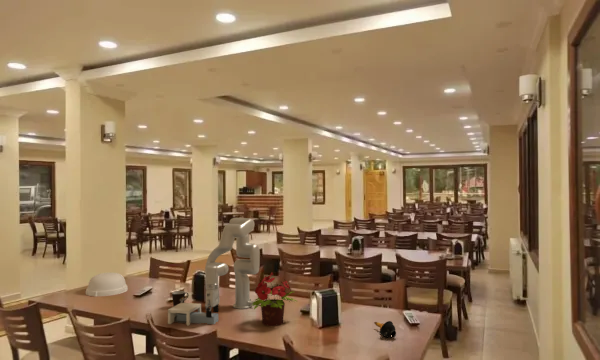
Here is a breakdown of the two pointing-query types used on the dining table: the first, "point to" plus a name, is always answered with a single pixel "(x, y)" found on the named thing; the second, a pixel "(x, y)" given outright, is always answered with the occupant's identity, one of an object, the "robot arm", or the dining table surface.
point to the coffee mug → (178, 297)
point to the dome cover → (106, 285)
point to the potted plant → (271, 302)
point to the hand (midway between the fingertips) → (212, 314)
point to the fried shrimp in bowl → (386, 329)
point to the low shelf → (182, 308)
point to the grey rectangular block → (198, 317)
